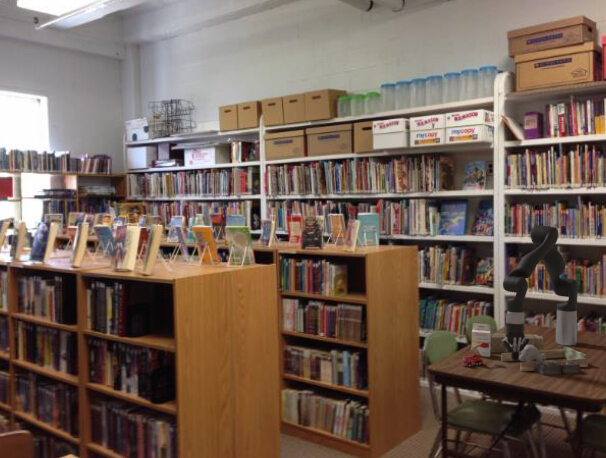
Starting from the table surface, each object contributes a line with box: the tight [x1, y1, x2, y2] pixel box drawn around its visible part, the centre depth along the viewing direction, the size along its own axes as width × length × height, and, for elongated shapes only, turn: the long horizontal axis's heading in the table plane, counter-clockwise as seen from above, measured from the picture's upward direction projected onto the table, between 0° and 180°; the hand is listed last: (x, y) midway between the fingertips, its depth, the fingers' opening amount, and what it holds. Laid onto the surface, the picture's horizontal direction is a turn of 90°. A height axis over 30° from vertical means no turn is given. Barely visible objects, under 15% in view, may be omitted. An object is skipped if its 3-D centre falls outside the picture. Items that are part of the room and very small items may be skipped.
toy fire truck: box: [461, 342, 489, 368], centre depth 266 cm, size 3×14×10 cm, turn 117°
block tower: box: [490, 333, 544, 353], centre depth 289 cm, size 8×8×29 cm
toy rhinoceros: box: [518, 345, 550, 366], centre depth 264 cm, size 7×12×8 cm, turn 58°
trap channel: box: [500, 345, 589, 376], centre depth 262 cm, size 24×32×5 cm
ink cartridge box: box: [471, 323, 492, 358], centre depth 281 cm, size 9×5×15 cm, turn 71°
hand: (515, 360), depth 263 cm, fingers closed
